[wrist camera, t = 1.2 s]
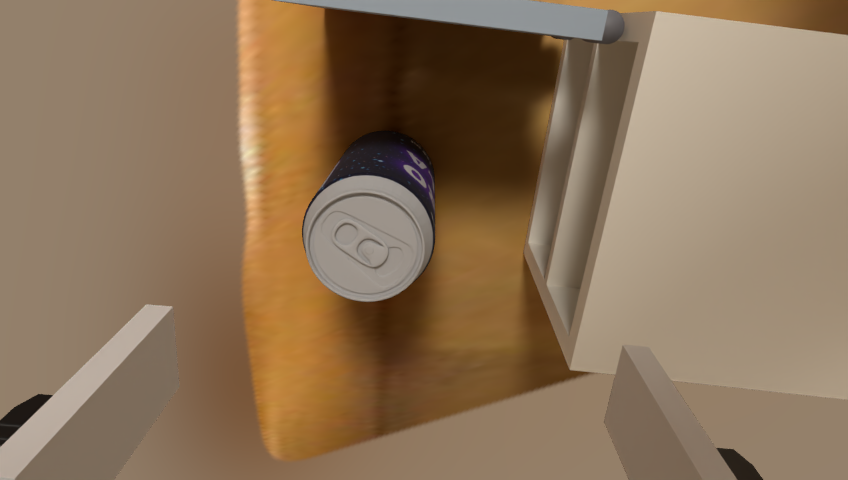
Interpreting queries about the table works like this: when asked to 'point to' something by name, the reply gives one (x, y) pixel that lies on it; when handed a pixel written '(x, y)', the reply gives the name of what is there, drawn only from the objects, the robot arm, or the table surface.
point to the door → (496, 15)
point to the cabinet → (699, 203)
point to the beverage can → (373, 218)
